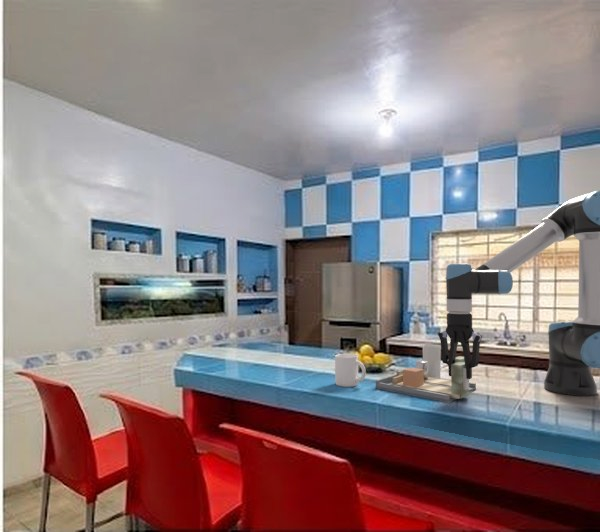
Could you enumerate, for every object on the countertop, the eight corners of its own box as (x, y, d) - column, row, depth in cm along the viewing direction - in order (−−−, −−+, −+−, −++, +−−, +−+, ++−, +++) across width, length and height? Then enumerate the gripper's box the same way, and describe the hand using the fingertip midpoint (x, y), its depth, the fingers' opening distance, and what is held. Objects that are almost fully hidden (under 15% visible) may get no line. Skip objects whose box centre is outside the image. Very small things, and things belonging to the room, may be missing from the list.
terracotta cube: (423, 384, 145) (423, 369, 145) (416, 387, 141) (416, 371, 141) (410, 382, 148) (410, 367, 148) (403, 384, 144) (402, 369, 145)
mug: (371, 385, 152) (371, 356, 152) (358, 390, 145) (358, 359, 146) (343, 380, 159) (343, 352, 160) (330, 384, 153) (330, 355, 154)
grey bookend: (436, 379, 161) (436, 347, 162) (420, 377, 166) (419, 345, 166) (446, 375, 169) (446, 344, 170) (430, 372, 173) (430, 343, 174)
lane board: (475, 389, 146) (475, 381, 147) (448, 402, 130) (448, 393, 130) (407, 377, 164) (407, 370, 164) (375, 388, 148) (375, 380, 148)
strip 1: (469, 386, 146) (468, 356, 146) (460, 390, 141) (459, 359, 141) (406, 376, 162) (406, 349, 162) (396, 379, 156) (396, 352, 157)
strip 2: (469, 394, 135) (469, 362, 136) (460, 399, 130) (459, 365, 130) (403, 382, 151) (402, 354, 152) (392, 386, 146) (391, 356, 146)
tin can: (430, 378, 154) (430, 361, 154) (424, 380, 151) (424, 363, 151) (419, 376, 157) (418, 360, 157) (413, 378, 154) (413, 361, 154)
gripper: (489, 313, 132) (491, 390, 131) (440, 311, 143) (440, 382, 142) (480, 314, 127) (482, 395, 126) (429, 312, 137) (430, 385, 137)
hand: (460, 387), depth 134 cm, fingers closed on strip 2, 3 cm apart
